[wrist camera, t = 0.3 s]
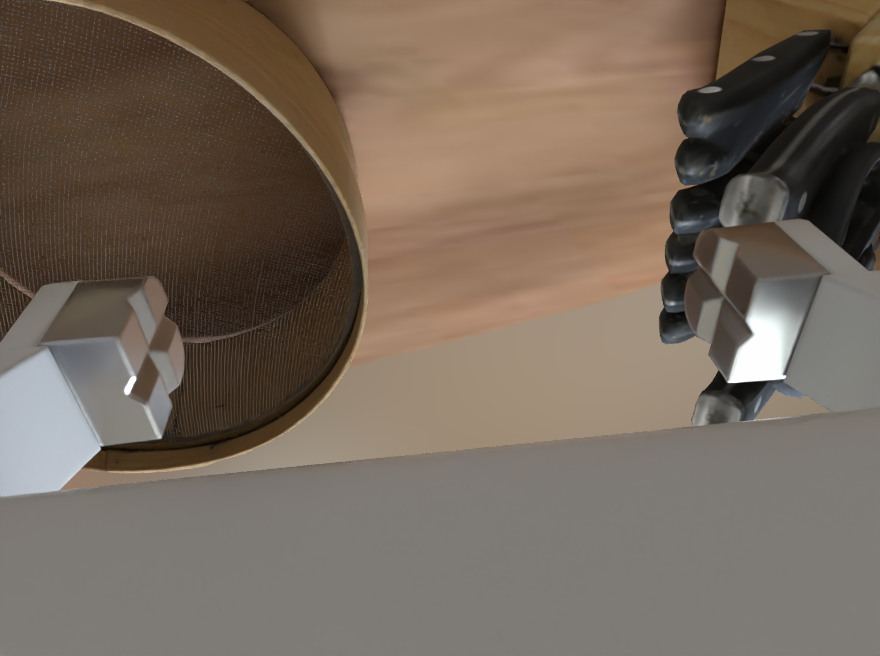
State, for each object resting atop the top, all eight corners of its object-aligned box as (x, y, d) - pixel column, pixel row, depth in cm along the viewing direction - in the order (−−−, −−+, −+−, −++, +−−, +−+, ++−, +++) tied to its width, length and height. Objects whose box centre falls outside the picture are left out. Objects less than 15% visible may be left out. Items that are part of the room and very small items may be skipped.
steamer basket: (337, 371, 47) (330, 496, 38) (-48, 326, 42) (-162, 458, 33) (404, 9, 33) (418, 70, 24) (-161, -126, 28) (-411, -112, 19)
